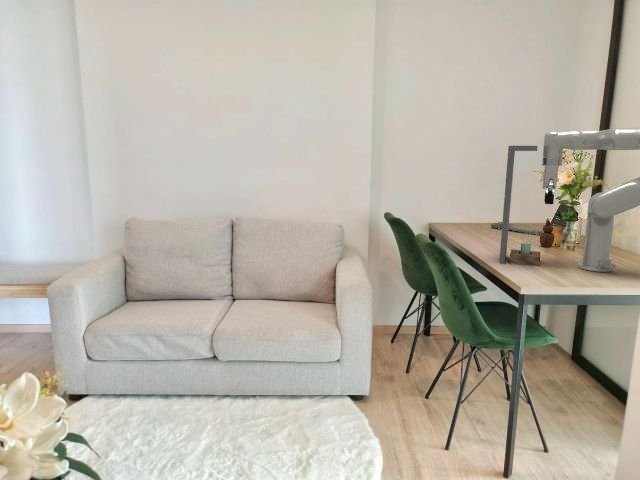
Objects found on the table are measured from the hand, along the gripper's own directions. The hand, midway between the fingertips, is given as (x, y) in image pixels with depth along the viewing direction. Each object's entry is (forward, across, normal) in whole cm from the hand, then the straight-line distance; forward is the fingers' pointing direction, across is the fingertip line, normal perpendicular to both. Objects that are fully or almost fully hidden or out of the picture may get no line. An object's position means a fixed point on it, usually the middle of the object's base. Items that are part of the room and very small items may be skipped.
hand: (548, 203), depth 203 cm
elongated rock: (+27, -91, -14) cm, 96 cm away
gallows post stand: (+26, 0, -12) cm, 29 cm away
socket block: (+26, 0, -8) cm, 27 cm away
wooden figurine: (+26, -43, +2) cm, 51 cm away
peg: (+26, 0, -8) cm, 27 cm away
